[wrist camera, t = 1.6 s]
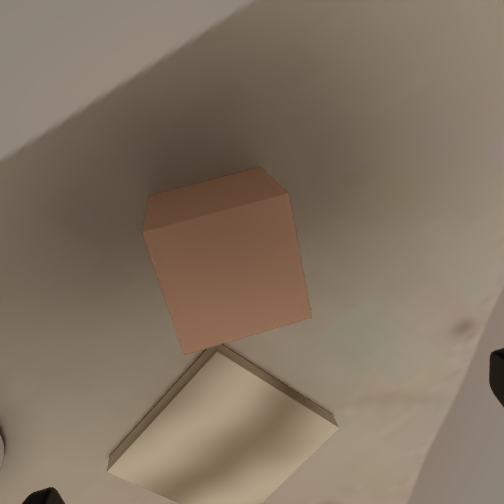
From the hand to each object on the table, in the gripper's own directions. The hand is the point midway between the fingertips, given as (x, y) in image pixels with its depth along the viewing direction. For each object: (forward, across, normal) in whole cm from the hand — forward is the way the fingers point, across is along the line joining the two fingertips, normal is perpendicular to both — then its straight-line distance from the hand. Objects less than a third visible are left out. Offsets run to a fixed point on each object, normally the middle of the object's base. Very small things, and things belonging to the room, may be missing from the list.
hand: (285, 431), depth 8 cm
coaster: (+12, +3, +12) cm, 17 cm away
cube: (+12, 0, 0) cm, 12 cm away
